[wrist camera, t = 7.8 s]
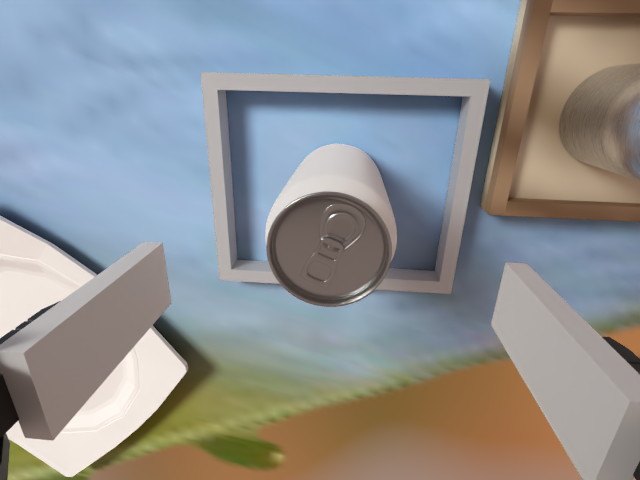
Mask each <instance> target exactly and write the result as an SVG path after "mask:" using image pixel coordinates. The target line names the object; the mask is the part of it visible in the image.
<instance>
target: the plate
mask: <svg viewBox="0 0 640 480" xmlns="http://www.w3.org/2000/svg"><path fill="white" fill-rule="evenodd" d="M95 276H97V274H96V273H94V272H93V271H91V270H90V269H88V268H87V267H86V266H84V265H83V264H81V263H80V262H78V261H77V260H76V259H74V258H73V257H71V256H70V255H68V254H67V253H65V252H64V251H63V250H61V249H60V248H58V247H57V246H55V245H54V244H53V243H51V242H49V241H47V240H45V239H43V238H41V237H39V236H37V235H35V234H34V233H32V232H30V231H28V230H26V229H24V228H22V227H20V226H19V225H17V224H15V223H13V222H11V221H9V220H7V219H5V218H4V217H2V216H0V338H1V337H3V336H4V335H6V334H7V333H8V332H10V331H11V330H15V329H16V327H17V326H19V325H20V324H21V323H23V322H24V321H27V320H28V319H29V318H30V317H31V316H33V315H34V314H36V313H37V312H39V311H40V310H41V309H43V308H46V307H48V306H50V305H52V304H55V303H57V302H59V301H62V300H63V299H65V298H66V297H67V296H69V295H70V294H72V293H73V292H74V291H76V290H77V289H79V288H80V287H81V286H83V285H84V284H86V283H87V282H88V281H90V280H91V279H93V278H94V277H95ZM187 371H188V364H187V362H186V361H185V360H184V359H183V358H182V357H181V356H180V355H179V354H178V353H177V351H176V350H175V349H174V348H173V347H172V346H171V345H170V344H169V343H168V342H167V341H166V340H165V338H164V337H163V336H162V335H161V334H160V333H159V332H158V331H157V330H156V329H155V327H154V326H153V325H152V326H151V328H150V329H149V330H148V331H147V332H146V333H145V334H144V336H143V337H142V338H141V339H140V340H139V341H138V343H137V344H136V345H135V346H134V347H133V348H132V350H131V351H130V352H129V353H128V354H127V355H126V357H125V358H124V359H123V360H122V361H121V362H120V364H119V365H118V366H117V367H116V368H115V369H114V370H113V372H112V373H111V374H110V375H109V376H108V377H107V379H106V380H105V381H104V382H103V383H102V384H101V386H100V387H99V388H98V389H97V390H96V391H95V393H94V394H93V395H92V396H91V397H90V398H89V400H88V401H87V402H86V403H85V404H84V405H83V406H82V408H81V409H80V410H79V411H78V412H77V413H76V415H75V416H74V417H73V418H72V419H71V420H70V422H69V423H68V424H67V425H66V426H65V427H64V429H63V430H62V431H61V432H60V433H59V434H58V436H57V437H56V438H55V439H54V440H53V441H52V440H41V439H31V438H25V437H24V434H23V432H22V429H21V426H20V424H19V421H17V422H16V423H15V424H14V425H13V426H12V427H11V428H10V429H9V430H8V431H7V432H6V434H7V437H8V439H10V440H12V441H13V442H15V443H16V444H18V445H19V446H21V447H22V448H24V449H25V450H27V451H28V452H30V453H31V454H33V455H34V456H36V457H37V458H39V459H40V460H42V461H43V462H45V463H46V464H48V465H49V466H51V467H52V468H54V469H55V470H57V471H58V472H60V473H61V474H63V475H64V476H66V477H72V476H74V475H75V474H77V473H78V472H80V471H81V470H83V469H84V468H86V467H87V466H89V465H90V464H91V463H93V462H94V461H96V460H97V459H99V458H100V457H102V456H103V455H105V454H106V453H107V452H109V451H110V450H112V449H113V448H115V447H116V446H117V445H118V444H120V443H121V442H122V441H123V440H124V439H126V438H127V437H128V436H129V435H131V434H132V433H133V432H134V431H135V430H137V429H138V428H139V427H140V426H141V425H142V424H143V423H144V422H145V421H146V420H147V419H148V418H149V417H150V416H151V415H152V414H153V413H154V412H155V411H156V410H157V409H158V408H159V407H160V405H161V404H162V403H163V401H164V400H165V399H166V398H167V396H168V395H169V394H170V393H171V391H172V390H173V389H174V387H175V386H176V385H177V384H178V382H179V381H180V380H181V379H182V377H183V376H184V375H185V373H186V372H187Z"/></svg>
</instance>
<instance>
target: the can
mask: <svg viewBox="0 0 640 480" xmlns="http://www.w3.org/2000/svg"><path fill="white" fill-rule="evenodd" d="M265 238H266V246H267V258H268V262H269V265H270V268H271V270H272V272H273V274H274V276H275V278H276V279H277V280H278V282H279V283H280V284H281V285H282V286H283V287H284V288H285V289H286V290H287V291H288V292H289V293H291V294H292V295H293V296H295V297H297V298H298V299H300V300H302V301H305V302H307V303H310V304H314V305H318V306H326V307H336V306H344V305H348V304H351V303H354V302H357V301H359V300H361V299H363V298H365V297H366V296H368V295H369V294H371V293H372V292H373V291H374V290H375V289H376V288H377V287H378V286H379V285H380V284H381V282H382V281H383V279H384V278H385V276H386V274H387V272H388V270H389V267H390V264H391V262H392V259H393V257H394V254H395V250H396V245H397V228H396V222H395V218H394V215H393V211H392V208H391V205H390V202H389V198H388V195H387V192H386V189H385V186H384V183H383V180H382V178H381V175H380V172H379V170H378V168H377V166H376V164H375V163H374V161H373V160H372V159H371V158H370V156H369V155H368V154H366V153H365V152H364V151H362V150H360V149H358V148H356V147H353V146H350V145H346V144H329V145H325V146H322V147H320V148H318V149H316V150H314V151H313V152H311V153H310V154H309V155H308V156H307V157H306V158H305V159H304V160H303V161H302V162H301V164H300V165H299V166H298V168H297V169H296V171H295V172H294V174H293V175H292V177H291V178H290V180H289V181H288V183H287V184H286V185H285V187H284V188H283V190H282V192H281V193H280V195H279V196H278V198H277V199H276V201H275V203H274V205H273V206H272V208H271V211H270V213H269V216H268V219H267V224H266V231H265Z"/></svg>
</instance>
